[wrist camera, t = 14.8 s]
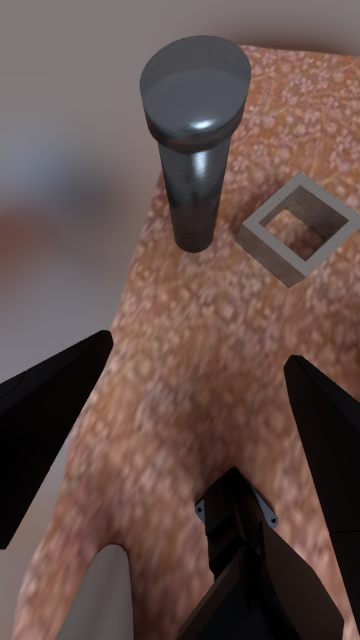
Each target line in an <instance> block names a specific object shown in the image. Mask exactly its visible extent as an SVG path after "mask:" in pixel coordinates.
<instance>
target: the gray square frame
mask: <svg viewBox="0 0 360 640" xmlns="http://www.w3.org/2000/svg"><path fill="white" fill-rule="evenodd" d="M284 208H285V209H287V210H288V211H289V212H290V213H292V214H293V215H294V216H296V217H297V218H298V219H300V220H301V221H302V222H303V223H305V224H306V225H307V226H309V227H310V228H311V229H313V230H314V231H315V232H316V233H318V234H319V235H320V236H322V237H323V238H324V239H326V240H325V241H324V242H323V243H322V244H321V245H320V246H319V247H318V248H317V249H316V250H315V251H313V252H312V253H311V254H310V255H309V256H308V257H307V258H306V259H305V260H303V259H302V258H300V257H299V256H298V255H297V254H295V253H294V252H293V251H292V250H291V249H289V248H288V247H287V246H286V245H284V244H283V243H282V242H281V241H280V240H278V239H277V238H276V237H275V236H273V235H272V234H271V233H270V232H269V231H267V230H266V229H265V228H264V227H265V226H266V225H267V224H268V223H269V222H270V221H271V220H272V219H274V218H275V217H276V216H277V215H278V214H279V213H280V212H281V211H282V210H283V209H284ZM359 228H360V214H358V213H357V212H356V211H354V210H353V209H351V208H350V207H348V206H347V205H346V204H344V203H343V202H341V201H340V200H339V199H337V198H336V197H334V196H333V195H332V194H330V193H329V192H327V191H326V190H324V189H323V188H322V187H320V186H319V185H317V184H316V183H315V182H313V181H312V180H310V179H309V178H307V177H306V176H305V175H303V174H302V173H300V172H298V173H297V174H296V175H295V176H293V177H292V178H291V179H290V180H289V181H288V182H287V183H286V184H285V185H284V186H283V187H281V188H280V189H279V190H278V191H277V192H276V193H275V194H274V195H273V196H272V197H270V198H269V199H268V200H267V201H266V202H265V203H264V204H263V205H262V206H261V207H259V208H258V209H257V210H256V211H255V212H254V213H253V214H252V215H251V216H250V217H249V218H247V219H246V220H245V221H244V222H243V223H242V225H241V228H240V230H239V233H238V236H237V238H236V242H237V243H238V244H239V245H240V246H241V247H242V248H244V249H245V250H246V251H247V252H248V253H249V254H250V255H252V256H253V257H254V258H255V259H256V260H257V261H259V262H260V263H261V264H262V265H263V266H264V267H265V268H267V269H268V270H269V271H270V272H271V273H272V274H273V275H275V276H276V277H277V278H278V279H279V280H280V281H281V282H283V283H284V284H285V285H286V286H287V287H288V288H291V287H292V286H294V285H295V284H297V283H299V282H300V281H302V280H303V279H305V278H307V277H308V276H309V275H310V274H311V273H312V272H313V271H314V270H315V269H316V268H317V267H318V266H319V265H320V264H322V263H323V262H324V261H325V260H326V259H327V258H328V257H329V256H330V255H331V254H332V253H333V252H334V251H335V250H336V249H337V248H338V247H339V246H341V245H342V244H343V243H344V242H345V241H346V240H347V239H348V238H349V237H350V236H351V235H352V234H353V233H354V232H355V231H356V230H357V229H359Z"/></svg>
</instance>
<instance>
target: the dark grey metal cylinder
mask: <svg viewBox="0 0 360 640" xmlns="http://www.w3.org/2000/svg"><path fill="white" fill-rule="evenodd" d="M250 79H251V66H250V62H249V60H248V58H247V56H246V54H245V53H244V52H243V51H242V49H241V48H240V47H238V46H237V45H236V44H234V43H232V42H231V41H229V40H226V39H224V38H220V37H216V36H206V35H202V36H191V37H187V38H183V39H180V40H177V41H175V42H172V43H170V44H168V45H167V46H165V47H163V48H162V49H161V50H159V51H158V52H157V53H156V54H155V55H154V56H153V57H152V58H151V59H150V60H149V61H148V63H147V64H146V66H145V68H144V70H143V72H142V75H141V79H140V93H141V97H142V102H143V107H144V112H145V116H146V121H147V125H148V129H149V131H150V133H151V134H152V136H153V137H154V139H155V140H157V142H158V147H159V152H160V157H161V164H162V169H163V175H164V180H165V186H166V192H167V197H168V203H169V209H170V214H171V220H172V225H173V231H174V237H175V241H176V243H177V245H178V246H179V247H180V248H181V249H182V250H184V251H186V252H190V253H196V252H200V251H203V250H205V249H206V248H207V247H208V246H209V245H210V244H211V242H212V240H213V236H214V230H215V225H216V219H217V214H218V208H219V202H220V197H221V191H222V186H223V180H224V175H225V169H226V163H227V158H228V152H229V147H230V141H231V136H232V134H233V133H234V132H235V131H236V129H237V128H238V126H239V124H240V122H241V120H242V116H243V112H244V107H245V103H246V98H247V93H248V89H249V84H250Z"/></svg>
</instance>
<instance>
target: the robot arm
mask: <svg viewBox="0 0 360 640" xmlns="http://www.w3.org/2000/svg"><path fill="white" fill-rule="evenodd" d="M113 344H114V343H113V339H112V335H111V332H110V331H107V330H101V331H99V332H97V333H95V334H93V335H91V336H89V337H88V338H86V339H84V340H82V341H80V342H78V343H76V344H75V345H73V346H71V347H69V348H67V349H65V350H63V351H62V352H59V353H58V354H56V355H54V356H52V357H50V358H48V359H46V360H44V361H43V362H41V363H39V364H37V365H35V366H33V367H31V368H29V369H28V370H27V371H24V372H22V373H20V374H18V375H16V376H15V377H13V378H10V379H9V380H7V381H5V382H3V383H1V384H0V550H4V549H6V548H7V546H8V545H9V543H10V541H11V539H12V538H13V536H14V534H15V532H16V530H17V528H18V527H19V525H20V523H21V521H22V519H23V518H24V516H25V514H26V512H27V510H28V508H29V506H30V505H31V503H32V501H33V499H34V497H35V495H36V493H37V492H38V490H39V488H40V486H41V484H42V483H43V481H44V479H45V477H46V475H47V473H48V472H49V470H50V467H51V466H52V464H53V462H54V460H55V458H56V456H57V455H58V453H59V451H60V449H61V447H62V445H63V444H64V442H65V440H66V438H67V436H68V434H69V433H70V431H71V429H72V427H73V425H74V423H75V422H76V420H77V418H78V416H79V414H80V412H81V410H82V409H83V407H84V405H85V403H86V401H87V399H88V398H89V396H90V394H91V392H92V390H93V388H94V387H95V385H96V383H97V381H98V379H99V377H100V375H101V374H102V372H103V369H104V367H105V365H106V362H107V360H108V357H109V355H110V353H111V350H112V348H113ZM284 375H285V380H286V386H287V391H288V397H289V401H290V405H291V408H292V412H293V415H294V418H295V422H296V425H297V428H298V432H299V435H300V438H301V442H302V445H303V448H304V452H305V455H306V458H307V462H308V465H309V468H310V472H311V475H312V478H313V482H314V485H315V488H316V492H317V495H318V498H319V502H320V505H321V508H322V512H323V515H324V518H325V522H326V525H327V528H328V531H329V536H330V539H331V542H332V546H333V549H334V552H335V555H336V559H337V562H338V565H339V569H340V572H341V575H342V579H343V582H344V585H345V589H346V592H347V595H348V599H349V602H350V605H351V609H352V612H353V615H354V619H355V622H356V625H357V629H358V632H359V635H360V403H359V402H358V401H357V400H355V399H354V398H353V397H352V396H351V395H349V394H348V393H347V392H346V391H344V390H343V389H342V388H341V387H340V386H338V385H337V384H336V383H335V382H333V381H332V380H331V379H330V378H329V377H327V376H326V375H325V374H324V373H322V372H321V371H320V370H319V369H317V368H316V367H315V366H314V365H313V364H311V363H310V362H309V361H308V360H306V359H305V358H304V357H303V356H300V355H291V356H290V357H289V359H288V360H287V362H286V363H285V365H284ZM234 472H237V474H233V473H234ZM198 507H200V508H201V509H198ZM195 512H196V514H197V515H198V517H199V518H200V519H201V521H202V522H203V523H204V525H205V534H206V536H207V541H208V558H209V568H210V570H211V571H212V572H213V574H214V584H213V585H212V586H211V588H210V589H209V590H208V592H207V593H206V594H205V596H204V597H203V598H202V600H201V601H200V602H199V604H198V605H197V606H196V608H195V609H194V610H193V612H192V613H191V614H190V616H189V617H188V618H187V620H186V621H185V622H184V624H183V625H182V626H181V628H180V630H179V633H178V636H177V638H176V640H342V637H343V628H344V619H343V617H342V615H341V613H340V611H339V610H338V608H337V607H336V605H335V603H334V602H333V600H332V599H331V597H330V595H329V594H328V592H327V591H326V589H325V587H324V586H323V584H322V582H321V581H320V579H319V578H318V576H317V574H316V573H315V571H314V570H313V569H312V568H311V567H310V566H309V565H308V564H307V563H306V562H305V561H304V560H303V559H302V558H301V557H300V556H299V555H298V554H297V553H296V552H295V551H294V550H293V549H292V548H291V547H290V546H289V545H288V544H287V543H286V542H285V541H284V540H283V539H282V538H281V537H280V536H279V535H278V534H277V533H276V532H275V531H274V530H273V529H274V528H275V527H276V526H277V524H278V522H279V521H278V518H277V516H276V514H275V512H274V511H273V510H272V509H271V508H270V507H269V505H268V504H267V503H266V502H265V501H264V499H263V498H262V497H261V496H260V495H259V493H258V492H257V491H256V490H255V489H254V487H253V486H252V485H251V484H250V483H249V481H248V480H247V479H246V478H245V477H244V475H243V474H242V473H241V472H240V471H239V470H238V468H236V467H232V468H231V469H230V470H229V471H228V472H227V473H226V474H225V475H224V476H223V477H222V478H219V479H218V480H217V481H216V482H215V483H214V484H213V485H212V486H211V487H210V488H209V489H208V490H207V491H206V492H205V493H204V495H203V496H202V497H201V498H200V499H199V500H198V501H197V502H196V504H195ZM272 518H274V519H272Z"/></svg>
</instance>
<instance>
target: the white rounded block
mask: <svg viewBox="0 0 360 640" xmlns="http://www.w3.org/2000/svg"><path fill="white" fill-rule="evenodd" d="M55 640H134V627H133V608H132V593H131V583H130V572H129V563H128V557H127V553H126V551H124V550H123V548H122V547H120V546H118V545H114V544H112V545H107V546H105V547H104V548H103V549H102V550H101V551H100V553H97V554H96V555H95V557H94V559H93V561H92V563H91V565H90V567H89V569H88V571H87V573H86V575H85V577H84V580H83V582H82V584H81V586H80V588H79V590H78V592H77V594H76V596H75V599H74V601H73V603H72V605H71V607H70V609H69V611H68V613H67V615H66V618H65V620H64V622H63V624H62V626H61V628H60V630H59V632H58V634H57V637H56V639H55Z"/></svg>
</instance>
